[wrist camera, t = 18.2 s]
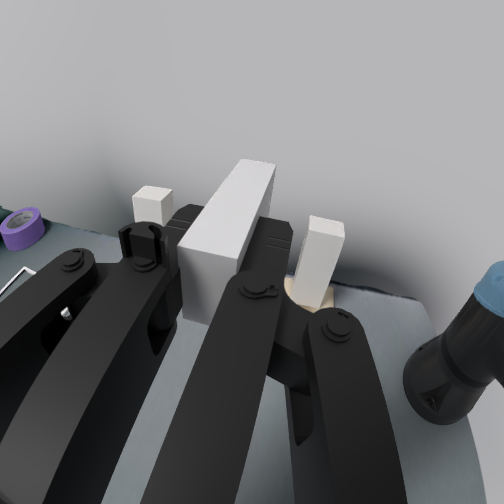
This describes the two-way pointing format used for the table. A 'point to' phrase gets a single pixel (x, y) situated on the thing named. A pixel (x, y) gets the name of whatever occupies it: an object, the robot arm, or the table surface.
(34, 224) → the tape roll
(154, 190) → the tile
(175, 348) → the table surface
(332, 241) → the tile
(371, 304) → the table surface
